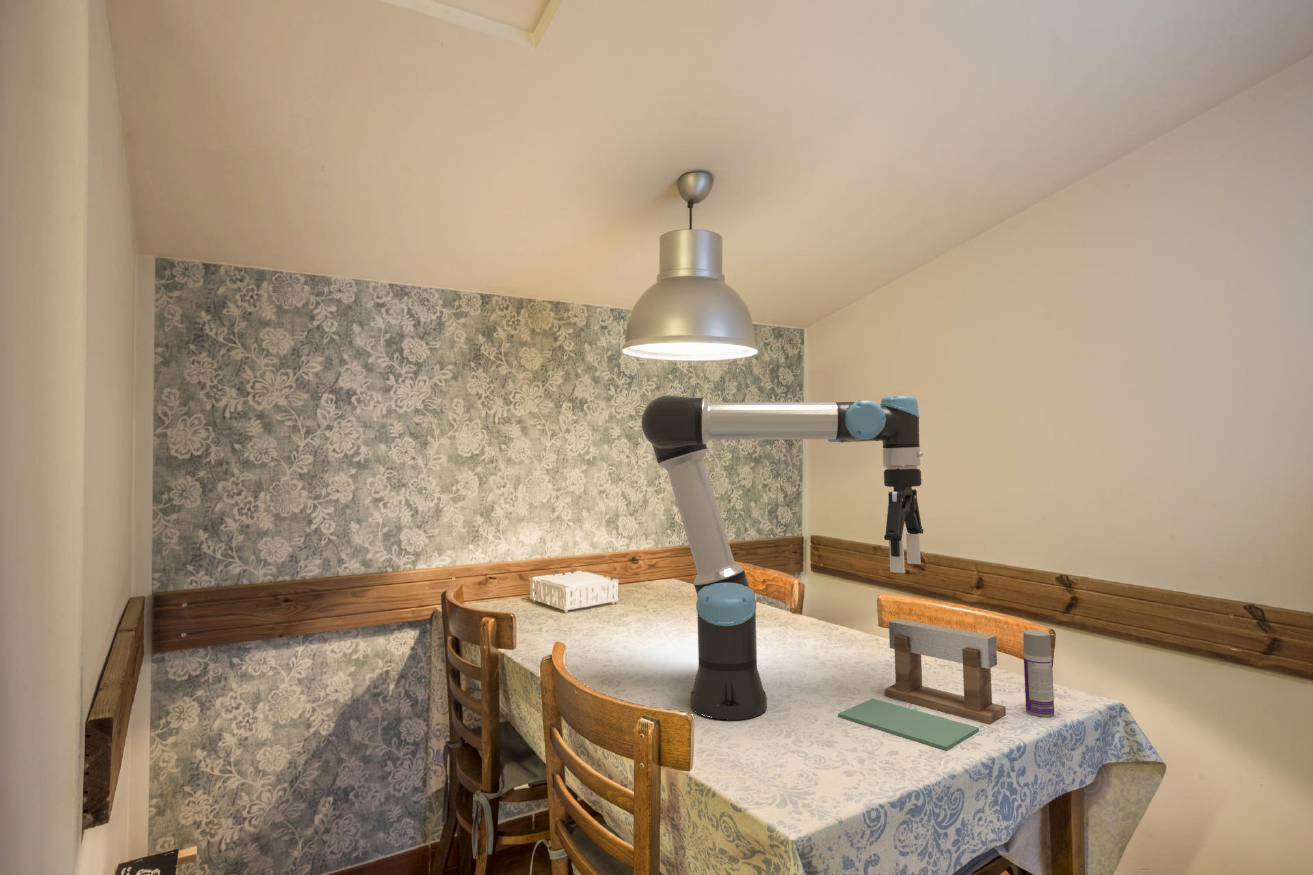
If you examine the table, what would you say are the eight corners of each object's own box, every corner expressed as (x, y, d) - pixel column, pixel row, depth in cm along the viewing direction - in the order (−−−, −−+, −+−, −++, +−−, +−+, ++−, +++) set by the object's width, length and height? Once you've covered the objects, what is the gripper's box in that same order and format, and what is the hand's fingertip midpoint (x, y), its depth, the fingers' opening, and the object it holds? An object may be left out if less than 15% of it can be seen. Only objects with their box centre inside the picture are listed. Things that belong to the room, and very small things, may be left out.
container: (1028, 706, 130) (1025, 628, 131) (1056, 711, 127) (1052, 631, 128) (1023, 713, 127) (1020, 633, 127) (1052, 719, 124) (1048, 636, 124)
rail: (988, 668, 124) (987, 639, 124) (889, 647, 139) (888, 621, 139) (997, 664, 126) (995, 635, 126) (898, 644, 141) (897, 618, 142)
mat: (946, 750, 111) (946, 746, 111) (838, 716, 127) (838, 713, 127) (978, 730, 119) (978, 727, 119) (872, 701, 135) (872, 698, 135)
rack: (989, 724, 122) (986, 654, 123) (884, 695, 138) (882, 634, 138) (1005, 714, 127) (1003, 647, 127) (902, 687, 142) (900, 628, 143)
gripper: (905, 468, 131) (909, 577, 130) (933, 467, 152) (937, 561, 151) (866, 469, 136) (870, 575, 135) (899, 467, 156) (903, 559, 155)
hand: (905, 567), depth 143 cm, fingers open, 13 cm apart
